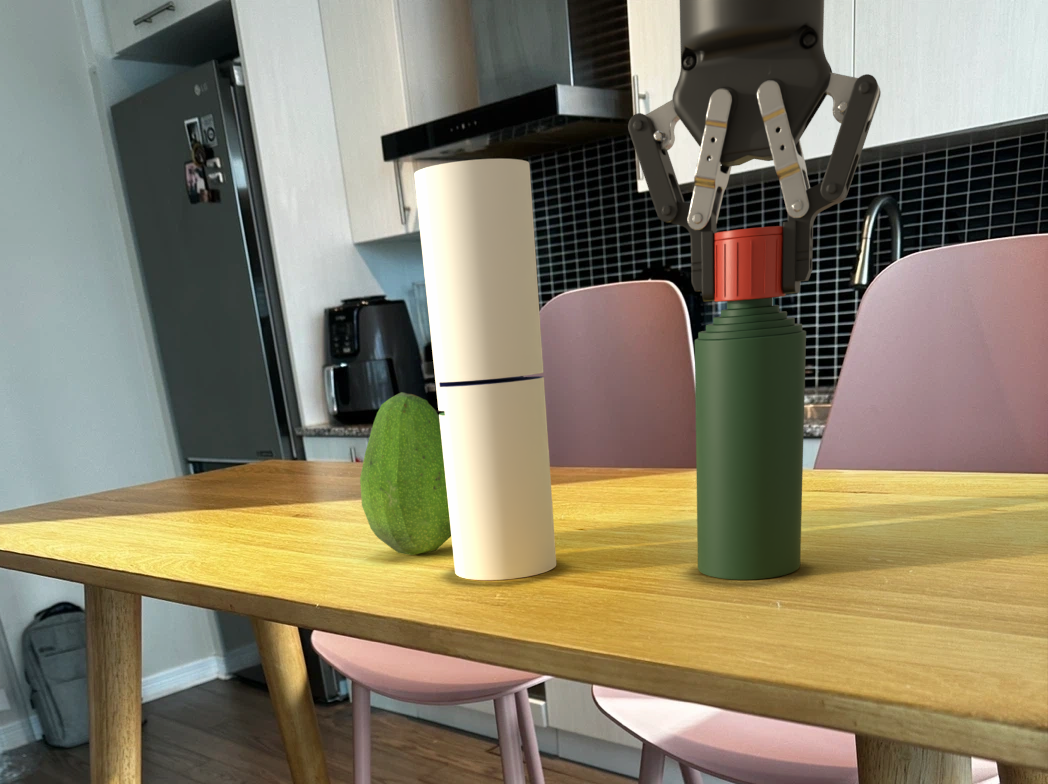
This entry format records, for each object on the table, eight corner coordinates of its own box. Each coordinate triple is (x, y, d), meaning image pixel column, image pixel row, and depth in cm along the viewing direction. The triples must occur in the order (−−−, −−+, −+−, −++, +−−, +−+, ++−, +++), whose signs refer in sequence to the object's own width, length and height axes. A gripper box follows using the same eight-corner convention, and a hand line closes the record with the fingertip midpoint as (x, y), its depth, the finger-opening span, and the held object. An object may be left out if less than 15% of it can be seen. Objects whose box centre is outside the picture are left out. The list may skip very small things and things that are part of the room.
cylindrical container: (498, 584, 67) (460, 156, 59) (435, 572, 73) (391, 177, 64) (577, 563, 72) (553, 160, 63) (512, 552, 77) (481, 179, 68)
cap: (707, 302, 59) (706, 232, 57) (721, 300, 62) (721, 234, 61) (780, 297, 57) (781, 225, 56) (790, 294, 61) (792, 226, 59)
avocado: (431, 566, 75) (411, 394, 71) (349, 562, 79) (326, 399, 75) (491, 543, 81) (476, 384, 77) (412, 541, 85) (394, 389, 81)
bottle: (760, 549, 70) (763, 242, 63) (821, 568, 64) (832, 233, 57) (678, 565, 68) (672, 249, 60) (734, 585, 62) (735, 241, 55)
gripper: (899, -65, 54) (884, 285, 60) (639, -9, 60) (649, 307, 66) (890, -112, 48) (874, 285, 54) (600, -45, 53) (615, 309, 60)
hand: (750, 295), depth 60 cm, fingers closed on cap, 4 cm apart
